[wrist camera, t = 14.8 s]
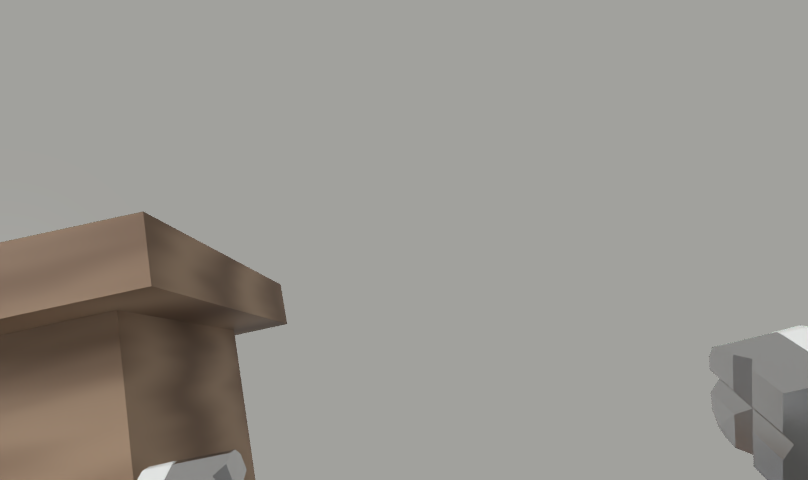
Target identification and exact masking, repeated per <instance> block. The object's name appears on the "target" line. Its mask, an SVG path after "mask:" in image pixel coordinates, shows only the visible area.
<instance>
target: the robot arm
mask: <svg viewBox="0 0 808 480" xmlns="http://www.w3.org/2000/svg"><path fill="white" fill-rule="evenodd" d="M709 357H710V370H711V371H712V372H713V373H714V374H715V375H716V376H717V377H718V378H719V380H718V382H717V383H716V385H715V386H714V388H713V390H712V391H711V399H712V410H713V412H714V415H715V418H716V421H717V423H718V426H719V428H720V429H721V431H722V432H723V434H724V435H725V437H726V438H727V439H728V440H729V441H730V442H731V443H732V445H733V446H734V447H735V448H738V449H740V450H743V451H745V452H748V453H750V454H753V455H754V456H753V458H754V467H755V468H756V469H757V470H758V471H759V472H760V473H761V474H762V475H763V476H764V477H765V478H766V479H767V480H808V327H807V326H801V325H800V326H796V327H792V328H788V329H784V330H780V331H776V332H772V333H770V334H766V335H762V336H757V337H753V338H749V339H745V340H741V341H736V342H732V343H728V344H723V345H719V346H715V347H712V350H711V353H710V356H709ZM246 470H247V469H246V467H245V464H244V461H243V459H242V456H241V454H240V453H239V452H238V451H236V450H235V449H234V450H229V451H224V452H219V453H214V454H209V455H204V456H198V457H193V458H188V459H183V460H178V461H172V462H168V463H163V464H159V465H154V466H150V467H148V468H146V469H144V470H143V471H142V472H141V474H140V476H139V477H138V479H137V480H244V477H245V474H246Z"/></svg>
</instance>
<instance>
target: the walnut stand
mask: <svg viewBox="0 0 808 480" xmlns="http://www.w3.org/2000/svg"><path fill="white" fill-rule="evenodd" d="M284 324H287V322H286V315H285V309H284V303H283V297H282V291H281V285H280V284H278V283H276V282H275V281H273V280H271V279H269V278H267V277H265V276H263V275H261V274H259V273H258V272H256V271H254V270H252V269H250V268H248V267H246V266H244V265H243V264H241V263H239V262H237V261H235V260H233V259H231V258H229V257H227V256H226V255H224V254H222V253H220V252H218V251H216V250H214V249H212V248H210V247H209V246H207V245H205V244H203V243H201V242H199V241H197V240H195V239H194V238H192V237H190V236H188V235H186V234H184V233H182V232H180V231H178V230H176V229H175V228H173V227H171V226H169V225H167V224H165V223H163V222H161V221H160V220H158V219H156V218H154V217H152V216H150V215H148V214H147V213H145V212H139V213H134V214H130V215H125V216H120V217H116V218H111V219H107V220H102V221H97V222H93V223H89V224H84V225H79V226H74V227H70V228H65V229H60V230H56V231H52V232H46V233H42V234H37V235H33V236H28V237H23V238H19V239H14V240H9V241H5V242H1V243H0V480H137V479H138V477H139V476H140V474H141V472H142V471H143V470H144V469H146V468H148V467H150V466H154V465H159V464H163V463H168V462H172V461H178V460H183V459H188V458H193V457H198V456H204V455H209V454H214V453H219V452H224V451H229V450H234V449H235V450H236V451H238V452H239V453H240V454H241V456H242V459H243V461H244V464H245V467H246V469H247V470H246V474H245V477H244V480H255V475H254V467H253V460H252V454H251V447H250V440H249V433H248V426H247V419H246V412H245V405H244V398H243V392H242V384H241V377H240V370H239V363H238V356H237V349H236V342H235V335H238V334H242V333H247V332H251V331H256V330H261V329H265V328H270V327H275V326H279V325H284Z"/></svg>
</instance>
